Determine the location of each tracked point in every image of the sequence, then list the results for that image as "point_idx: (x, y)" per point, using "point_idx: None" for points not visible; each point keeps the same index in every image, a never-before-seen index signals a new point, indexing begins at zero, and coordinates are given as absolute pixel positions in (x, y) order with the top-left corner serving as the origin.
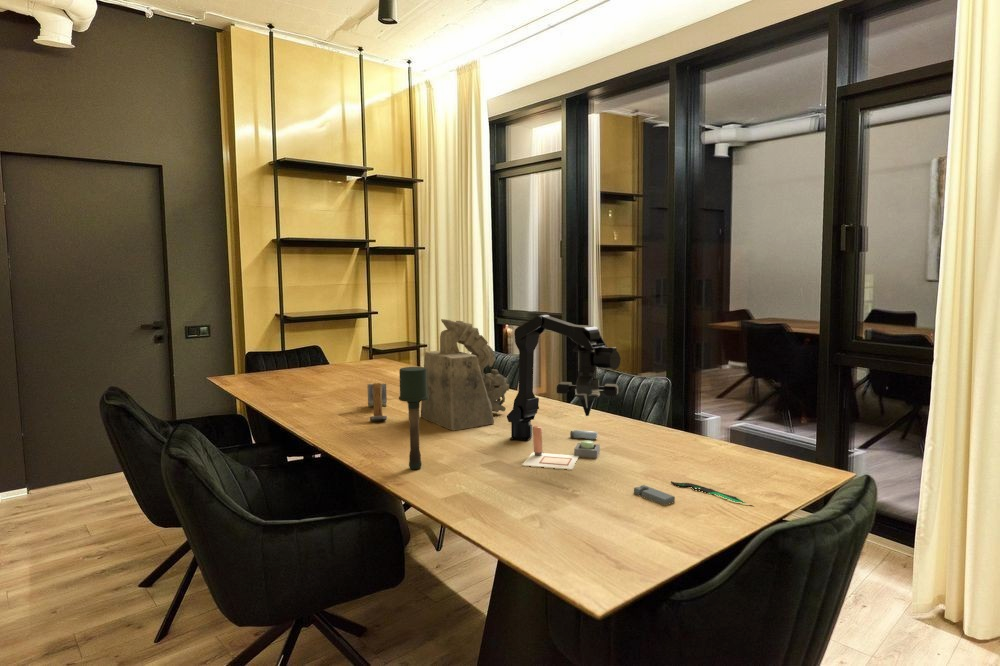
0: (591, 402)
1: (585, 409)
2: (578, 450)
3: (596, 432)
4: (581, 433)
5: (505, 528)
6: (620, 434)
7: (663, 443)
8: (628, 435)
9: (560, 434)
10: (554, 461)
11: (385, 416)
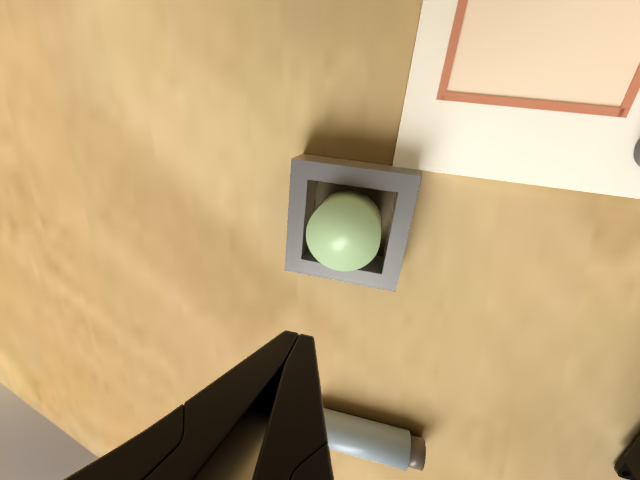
0: (114, 469)
1: (295, 386)
2: (396, 171)
3: None
4: (375, 440)
5: None
6: None
7: (101, 358)
8: None
9: (463, 475)
10: (564, 8)
11: None
